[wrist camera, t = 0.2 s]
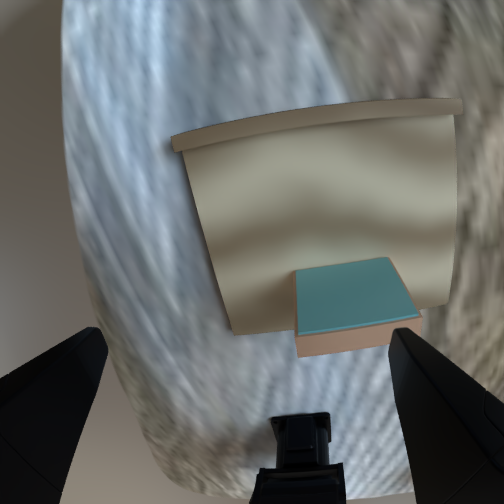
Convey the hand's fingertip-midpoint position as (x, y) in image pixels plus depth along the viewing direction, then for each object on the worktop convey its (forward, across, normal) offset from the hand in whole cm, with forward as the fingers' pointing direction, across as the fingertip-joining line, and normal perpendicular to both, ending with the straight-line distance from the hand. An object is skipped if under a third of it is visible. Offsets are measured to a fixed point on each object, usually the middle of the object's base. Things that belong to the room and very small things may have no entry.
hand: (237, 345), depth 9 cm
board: (+14, -5, +2) cm, 15 cm away
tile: (+13, -5, +5) cm, 15 cm away
